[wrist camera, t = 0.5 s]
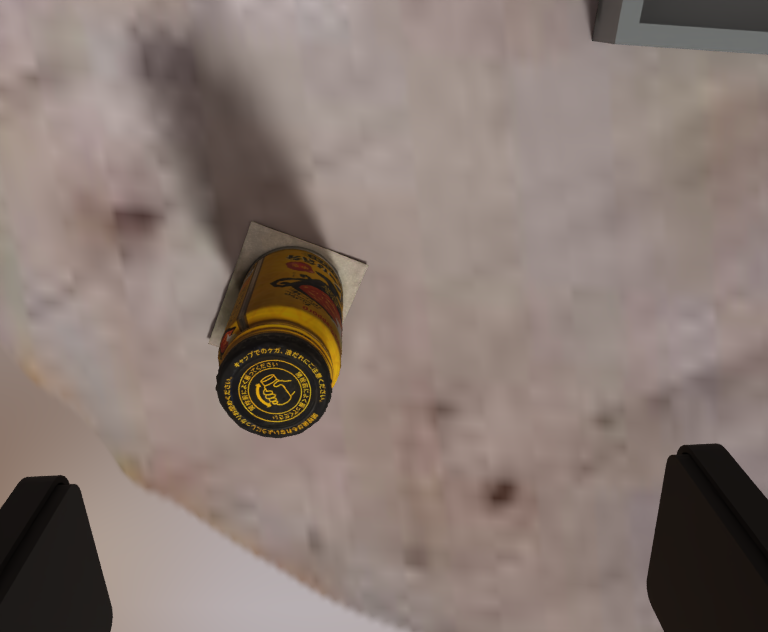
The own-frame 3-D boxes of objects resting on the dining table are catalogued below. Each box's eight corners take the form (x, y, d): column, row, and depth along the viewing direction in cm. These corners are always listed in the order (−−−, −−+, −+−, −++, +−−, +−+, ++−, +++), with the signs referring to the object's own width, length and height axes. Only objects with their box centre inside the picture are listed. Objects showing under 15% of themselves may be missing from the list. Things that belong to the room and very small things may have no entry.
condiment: (368, 264, 41) (372, 357, 30) (318, 378, 44) (306, 500, 33) (252, 219, 40) (212, 300, 29) (209, 341, 43) (158, 455, 32)
